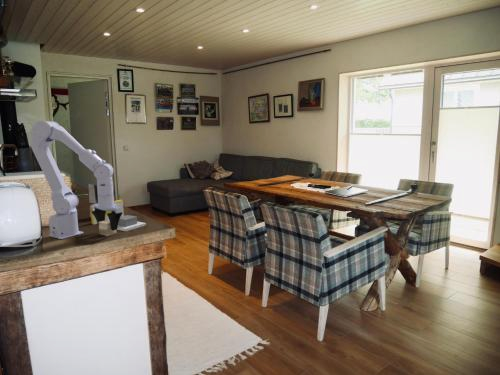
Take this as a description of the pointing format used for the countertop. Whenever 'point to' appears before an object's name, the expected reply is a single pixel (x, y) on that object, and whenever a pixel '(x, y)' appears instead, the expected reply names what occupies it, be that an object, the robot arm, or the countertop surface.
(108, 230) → the birch block
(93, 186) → the coffee box
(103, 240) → the countertop surface
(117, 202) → the candy box
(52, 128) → the robot arm
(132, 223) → the white grey square pedestal
